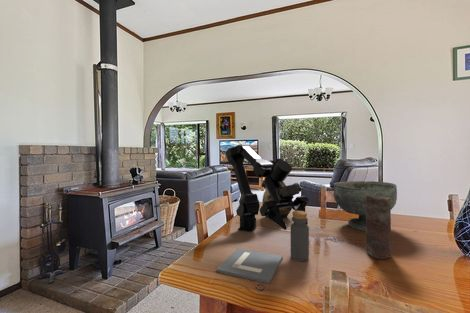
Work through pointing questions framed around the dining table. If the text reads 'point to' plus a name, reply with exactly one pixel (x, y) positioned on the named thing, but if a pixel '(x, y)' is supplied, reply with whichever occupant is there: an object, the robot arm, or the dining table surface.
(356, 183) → the decorative bowl
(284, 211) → the ceramic jug
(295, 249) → the bottle
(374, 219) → the candle
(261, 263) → the pad
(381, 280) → the dining table surface
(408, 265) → the dining table surface
